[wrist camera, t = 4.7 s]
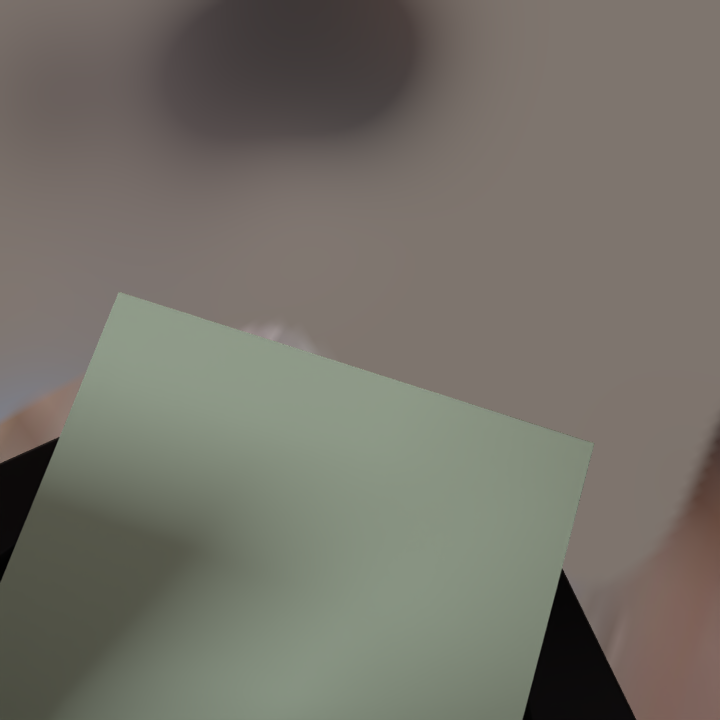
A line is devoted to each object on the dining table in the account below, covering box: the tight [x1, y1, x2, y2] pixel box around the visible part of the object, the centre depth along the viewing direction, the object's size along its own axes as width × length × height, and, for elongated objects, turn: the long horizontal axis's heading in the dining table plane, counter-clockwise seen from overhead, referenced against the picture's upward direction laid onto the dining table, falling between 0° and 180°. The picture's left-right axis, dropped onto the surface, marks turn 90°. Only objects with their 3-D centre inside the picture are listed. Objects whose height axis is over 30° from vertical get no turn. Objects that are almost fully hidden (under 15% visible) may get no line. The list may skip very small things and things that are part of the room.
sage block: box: [0, 292, 594, 720], centre depth 10 cm, size 4×4×11 cm
